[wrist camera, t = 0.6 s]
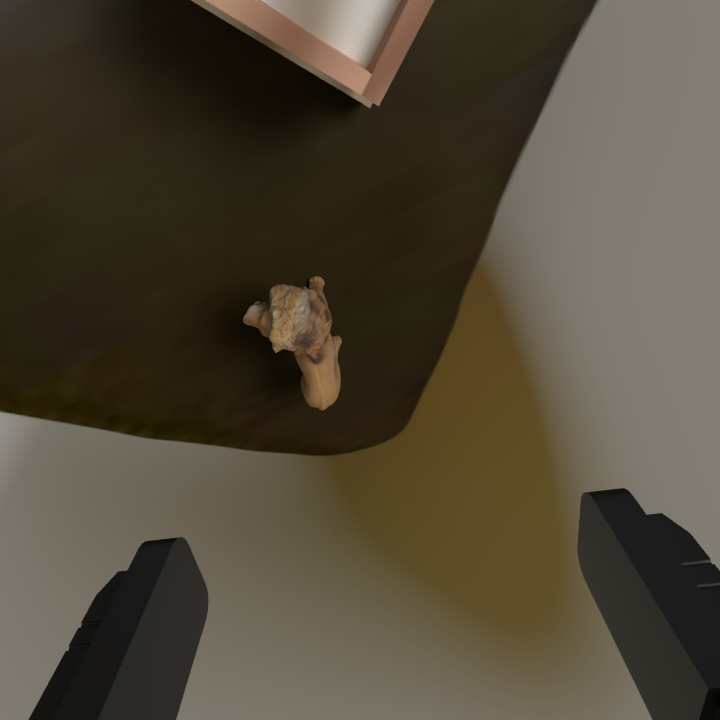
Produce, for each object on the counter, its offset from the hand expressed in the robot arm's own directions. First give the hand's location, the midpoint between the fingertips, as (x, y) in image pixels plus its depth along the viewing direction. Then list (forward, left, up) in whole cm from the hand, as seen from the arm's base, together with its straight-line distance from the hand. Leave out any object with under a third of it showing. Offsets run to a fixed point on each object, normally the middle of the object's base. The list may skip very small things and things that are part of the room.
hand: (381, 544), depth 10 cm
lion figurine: (+6, -13, -29) cm, 32 cm away
